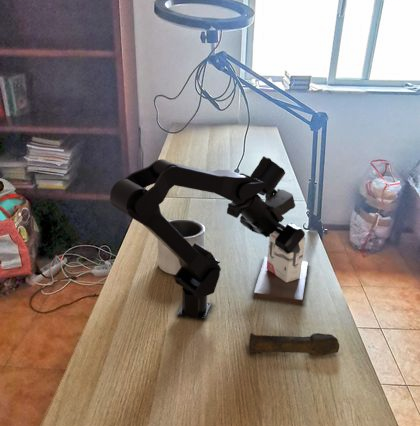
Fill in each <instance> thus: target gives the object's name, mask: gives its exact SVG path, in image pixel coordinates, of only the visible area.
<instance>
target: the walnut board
mask: <svg viewBox="0 0 420 426" xmlns="http://www.w3.org/2000/svg"><path fill="white" fill-rule="evenodd" d="M267 259H268V255H267V256H264V258H263V261H262V264H261V268H260V271H259V274H258V277H257V280H256V284H255V287H254V290H253V295H252V298H253V299H259V300H267V301H271V302H279V303H286V304H293V305H299V306H302V305H303V301H304V300H303V299H304V293H305V287H306V279H307V274H308V268H309V261H304V260H302V266H301V273H300V278H299V279H296V280H293V281H290V282H285V281H283V280H282V279H281V278H279V277H278V276H276V275H275V274H273V273H272V272H271V271H269V270H268V269H267Z"/></svg>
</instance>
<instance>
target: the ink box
mask: <svg viewBox="0 0 420 426" xmlns="http://www.w3.org/2000/svg"><path fill="white" fill-rule="evenodd" d="M282 225H283V226H285V227H286V225H287V224H286V225H285V224H282ZM279 229H280V228H279ZM278 235H279V234H277V233H275V232H273V233H272V234H270V237H268V249H267V257H268V259H267V269H268V270H269V271H271V272H272V273H273V274H275V275H276V276H278V277H279V278H281V279H282V280H283V281H285V282H290V281H293V280H296V279H299V278H300V273H301V266H302V261H303V258H304V251H305V245H306V237H305V236H304V237H303V238H302V240H301V241H300V242H299V247H300V251H299V252H298V253H292V252H291V253H289V254H287V253H285V252H284V251H282V250H281V249H279V248H278V247H277V246H276V245H275V239H276V238H277V237H278Z"/></svg>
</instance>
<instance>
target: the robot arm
mask: <svg viewBox="0 0 420 426" xmlns="http://www.w3.org/2000/svg"><path fill="white" fill-rule="evenodd" d="M285 175H286V171H285V169H284V168H283V167H281V166H280V165H279V164H277V162H274V161H273V160H272V158H270V157H268V156H265V155H263V156H262V158H261V159H260V160H259V162H258V165H257V166H256V167H255V168H254V170H252V173H251V174H250V175H248V174H245V173H243V172H235V171H233V170H230V169H216V170H213V171H211V170H204V169H200V168H197V167H191V166H188V165H183V164H179V163H175V162H172V161H168V160H166V159H163V158H160V159H157V160H155V161H153V162H152V163H150V165H148V166H146V167H144V168H141V169H139V170H136V171H134V172H133V171H132V173H129V174H128V175H127V176H126V177H125V178H123V179H119V180H118V181H117V182H116V183H114V184H113V186H112V187H111V189H110V193H109V201H110V203H111V205H112V206H113V207H114V208H116V209H117V210H119V211H120V212H122V213H124V214H125V215H127V216H128V217H130V218H131V219H133V220H134V221H137V223H139V224H141V225H143V227H145V228H146V229H147V230H148V231H149V232H150V233H151V234H152V236H154V237H155V238H156V239H157V240H158V239H159V240H160V241H161V242H162V243H163V244H164V245H165V246H166V247H167V248H168V249H169V250H170V251H171V252H172V253H173V254H174V255H175V256H176V257H177V258H178V259H179V263H180V265H181V268H180V269H179V271H178V272H177V273H176V275H173V279H174V281H175V284H177V285H178V286H179V287H181V288H182V291H181V292H182V293H181V294H182V297H181V298H182V301H181V302H182V304H181V306H180V308H179V310H178V312H177V316H179V317H186V318H191V319H197V320H206V318H207V315H208V313H209V311H210V308H211V305H212V304H211V303H210V302H208V296H210V295H213V294H214V293H215V291H216V288H217V285H218V282H219V279H220V276H221V270H222V269H221V268H222V267H221V266H220V265H219V264H220V263H221V261H220V260H218V259H217V258H215V256H214V255H213V253H212V252H211V251H209V250H208V249H206V248H205V249H204V248H203V247H201V246H199V245H198V244H196V243H194V245H193V246H192V245H191V244H190V243H189V242H188V241H187V240H186V239H185V238H184V237H183V236H182V235H181V234H180V233H179V232H178V231H177V230H176V229H175V228H174V227H173V226H172V225H171V224H170V223H169V221H168V220H169V219H167V218H166V217H165V216H164V215H163V214H162V211H161V207H160V205H161V204H162V203H164V201H165V199H166V197H167V195H168V194H169V192H170V190H171V189H172V188H173V187H175V186H176V187H181V188H186V189H191V190H195V191H202V192H207V193H211V194H216V195H218V196H220V197H222V198H224V199H226V200H229V201H230V202H228V203H227V207H226V214H227V215H230V217H233V218H235V219H238V218H239V216H240V218H239V223H240V224H242V226H244V227H245V228H247V229H248V230H250V231H251V232H253V233H255V234H258V235H262V236H263V237H265V238H266V239H267V238H269V237H270V234H272V233H273V232H275V233H277V234H279V235H278V237H277V238H276V239H275V245H276V246H277V247H278V248H279V249H281V250H282V251H284V252H285V253H287V254H289V253H291V252H292V253H298V252H299V251H300V247H299V242H300V241H301V240H302V238H303V237H305V236H306V233H305V231H304V230H303V229H302V228H301V227H299V226H298V225H296V224H294V223H292V222H291V223H287V224H286V227H285V226H283V225H284V224H283V223H282V222H283V221H284V219H285V217H284V216H283V215H285V214H287V213H289V211H291V210H293V209H295V208H296V203H295V198H294V194H292V193H291V192H289V191H287V190H285V189H280V188H277V189H276V187H277V186H278V184H279V183H280V182H281V181H282V179H283V178H284V176H285ZM149 186H151V187H150V188H149V189H146V188H147V187H149ZM260 195H261V196H263V197H264V198H265V200H263V198H262V197H261V196H260ZM279 228H280V229H279Z"/></svg>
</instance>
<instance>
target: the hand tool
mask: <svg viewBox="0 0 420 426" xmlns="http://www.w3.org/2000/svg"><path fill="white" fill-rule="evenodd" d="M248 347H249V349H248V350H249V353H250V354H253V353H256V354H260V353H283V354H285V353H290V354H291V353H299V354H300V353H303V354H309V355H311V356H314V357H322V356H327V355H332V354H337V353H339V350H340V342H339V339H338V338H337V337H336V336H334V335H333V334H329V333H319V332H317V333H316V332H315V333H312V334H311V335H309V336H292V335H265V334H263V335H261V334H260V335H259V334H258V335H257V334H255V333H252V332H250V335H249V340H248Z"/></svg>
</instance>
